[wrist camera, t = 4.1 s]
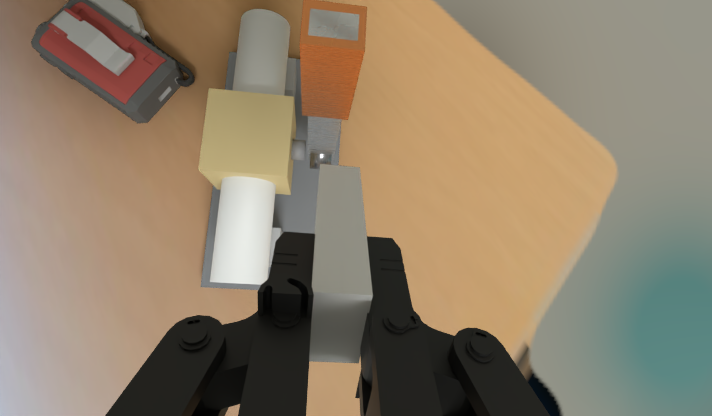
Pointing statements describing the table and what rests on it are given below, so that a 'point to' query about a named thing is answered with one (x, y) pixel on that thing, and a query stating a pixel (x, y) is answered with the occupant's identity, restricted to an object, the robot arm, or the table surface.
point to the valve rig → (256, 156)
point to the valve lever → (329, 71)
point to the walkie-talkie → (111, 56)
